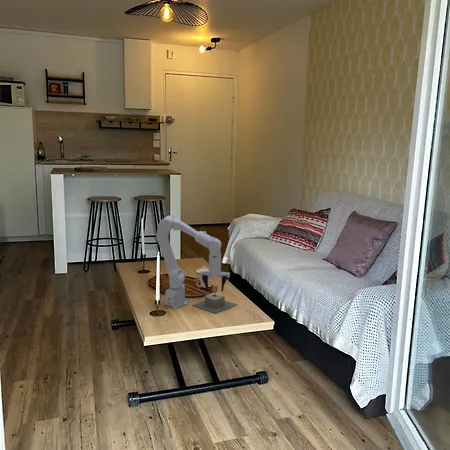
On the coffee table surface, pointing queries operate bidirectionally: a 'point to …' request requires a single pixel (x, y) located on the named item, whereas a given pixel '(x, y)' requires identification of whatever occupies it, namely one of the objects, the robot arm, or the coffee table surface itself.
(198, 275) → the teacup with lid
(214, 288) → the plunger
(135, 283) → the coffee table surface
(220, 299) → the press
